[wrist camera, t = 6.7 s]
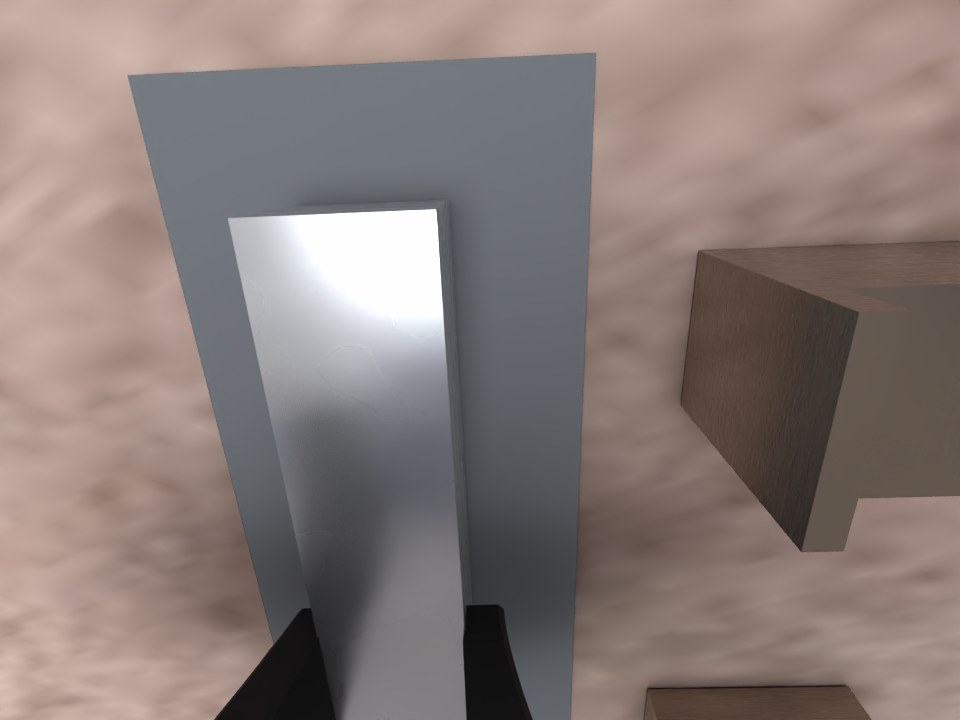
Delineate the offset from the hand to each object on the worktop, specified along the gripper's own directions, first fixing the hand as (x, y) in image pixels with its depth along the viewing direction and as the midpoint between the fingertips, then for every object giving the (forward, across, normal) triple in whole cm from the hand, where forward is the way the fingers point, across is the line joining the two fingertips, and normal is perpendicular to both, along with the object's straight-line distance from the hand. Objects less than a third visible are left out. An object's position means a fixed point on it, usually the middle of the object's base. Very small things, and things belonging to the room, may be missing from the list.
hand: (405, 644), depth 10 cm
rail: (+1, 0, 0) cm, 1 cm away
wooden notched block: (+2, -8, -6) cm, 10 cm away
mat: (+2, 0, 0) cm, 2 cm away
